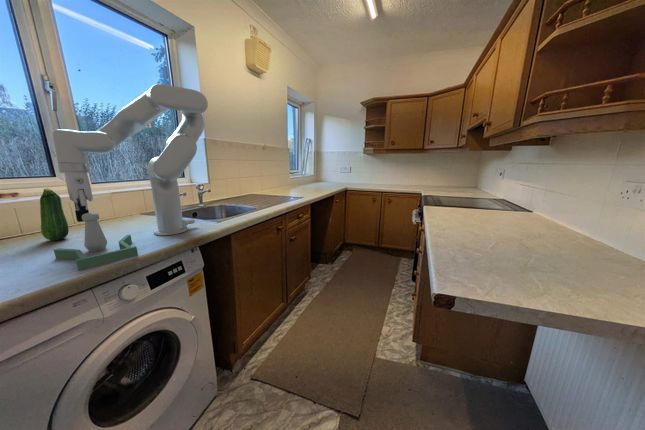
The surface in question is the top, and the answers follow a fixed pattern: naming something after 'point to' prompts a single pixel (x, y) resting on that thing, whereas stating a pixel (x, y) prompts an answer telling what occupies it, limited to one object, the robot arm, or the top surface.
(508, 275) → the top surface
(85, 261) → the green angled channel piece
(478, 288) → the top surface
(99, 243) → the salt shaker
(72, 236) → the top surface
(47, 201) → the vegetable
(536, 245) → the top surface
